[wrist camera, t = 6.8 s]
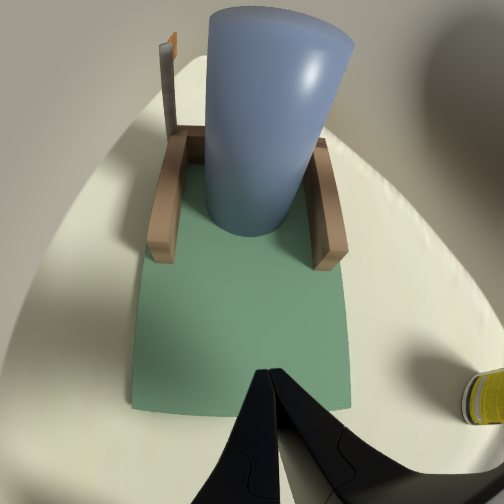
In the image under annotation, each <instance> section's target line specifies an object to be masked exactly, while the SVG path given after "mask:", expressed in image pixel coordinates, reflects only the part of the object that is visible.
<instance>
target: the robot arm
mask: <svg viewBox="0 0 504 504" xmlns="http://www.w3.org/2000/svg"><path fill="white" fill-rule="evenodd" d="M278 449H279V452H280V455H281V459H282V462H283V465H284V469H285V472H286V475H287V479H288V482H289V485H290V488H291V492H292V495H293V498H294V501H295V504H504V462H503V463H502V464H501V465H499V466H498V467H496V468H495V469H492V470H490V471H486V472H482V473H472V474H424V473H419V472H415V471H413V470H410V469H408V468H406V467H404V466H403V465H401V464H399V463H397V462H396V461H394V460H392V459H391V458H389V457H387V456H386V455H384V454H382V453H381V452H379V451H378V450H376V449H375V448H373V447H372V446H370V445H369V444H367V443H366V442H364V441H363V440H362V439H360V438H359V437H358V436H357V435H355V434H354V433H353V432H352V431H350V430H349V429H348V428H347V427H344V425H343V424H342V423H341V422H340V421H339V420H338V419H337V418H335V417H334V416H333V415H332V414H331V413H330V412H329V411H327V410H326V409H325V408H324V407H323V406H322V405H321V404H320V403H319V402H317V401H316V400H315V399H314V398H313V397H312V396H311V395H310V394H309V393H308V392H307V391H305V390H304V389H303V388H302V387H301V386H300V385H299V384H298V383H297V382H296V381H295V380H294V379H293V378H292V377H291V376H290V375H288V374H287V373H286V372H285V371H284V370H283V369H282V368H270V369H269V370H268V369H257V370H256V371H255V373H254V375H253V378H252V381H251V383H250V386H249V388H248V391H247V394H246V396H245V399H244V401H243V404H242V406H241V409H240V411H239V414H238V417H237V419H236V422H235V424H234V426H233V429H232V431H231V434H230V436H229V439H228V442H227V443H226V446H225V448H224V450H223V452H222V455H221V457H220V459H219V461H218V463H217V465H216V466H215V468H214V470H213V471H212V473H211V475H210V476H209V478H208V479H207V481H206V482H205V484H204V485H203V487H202V488H201V489H200V491H199V492H198V494H197V495H196V497H195V498H194V500H193V501H192V502H191V504H280V484H279V456H278Z"/></svg>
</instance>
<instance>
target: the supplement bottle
mask: <svg viewBox="0 0 504 504" xmlns="http://www.w3.org/2000/svg"><path fill="white" fill-rule="evenodd" d="M462 412H463V416H464V419H465V420H466V422H467V423H468V424H470V425H493V424H504V368H501V369H497V370H493V371H488V372H484V373H479V374H477V375H475V376H474V377H473V378H472V379H471V380H470V381H469V383H468V384H467V386H466V388H465V391H464V394H463V399H462Z"/></svg>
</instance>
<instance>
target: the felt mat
mask: <svg viewBox="0 0 504 504" xmlns="http://www.w3.org/2000/svg"><path fill="white" fill-rule="evenodd" d="M270 368H282V369H283V370H284V371H285V372H286V373H287V374H288V375H290V376H291V377H292V378H293V379H294V380H295V381H296V382H297V383H298V384H299V385H300V386H301V387H302V388H303V389H304V390H305V391H307V392H308V393H309V394H310V395H311V396H312V397H313V398H314V399H315V400H316V401H317V402H319V403H320V404H321V405H322V406H323V407H324V408H325V409H326V410H327V411H334V410H341V409H348V408H351V384H350V362H349V346H348V333H347V321H346V310H345V300H344V291H343V283H342V275H341V267H340V261H339V263H338V264H337V265H336V266H335V267H334V268H333V269H332V270H331V271H314V268H313V258H312V248H311V239H310V230H309V221H308V213H307V205H306V198H305V190H304V183H303V178H302V180H301V183H300V185H299V188H298V190H297V192H296V195H295V197H294V200H293V202H292V204H291V207H290V209H289V212H288V214H287V216H286V218H285V220H284V222H283V223H282V224H281V225H280V226H279V227H278V228H277V229H276V230H274V231H273V232H271V233H269V234H266V235H263V236H259V237H242V236H237V235H234V234H231V233H229V232H227V231H225V230H223V229H222V228H220V227H219V226H218V225H217V224H215V222H214V221H213V220H212V219H211V217H210V216H209V214H208V212H207V208H206V203H205V165H196V164H189V165H188V170H187V176H186V182H185V188H184V194H183V200H182V207H181V213H180V220H179V227H178V235H177V243H176V251H175V259H174V264H162V263H155V261H154V258H153V256H152V254H151V251H150V249H149V247H148V244H147V245H146V251H145V257H144V264H143V270H142V277H141V285H140V292H139V301H138V309H137V319H136V330H135V341H134V356H133V374H132V409H137V410H144V411H152V412H161V413H170V414H181V415H195V416H217V417H238V414H239V411H240V409H241V406H242V404H243V401H244V399H245V396H246V394H247V391H248V388H249V386H250V383H251V381H252V378H253V375H254V373H255V371H256V370H257V369H268V370H269V369H270Z"/></svg>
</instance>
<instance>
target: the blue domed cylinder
mask: <svg viewBox="0 0 504 504" xmlns="http://www.w3.org/2000/svg"><path fill="white" fill-rule="evenodd" d="M353 49H354V42H353V41H352V39H351V38H350V37H349V36H348V35H347V34H346V33H344V32H343V31H342V30H340V29H338V28H337V27H335V26H333V25H331V24H329V23H327V22H325V21H323V20H320V19H318V18H315V17H312V16H309V15H306V14H303V13H299V12H295V11H291V10H286V9H281V8H274V7H264V6H240V7H232V8H226V9H222V10H219V11H217V12H215V13H213V14H212V15H211V16H210V19H209V35H208V53H207V75H206V108H205V203H206V208H207V212H208V214H209V216H210V217H211V219H212V220H213V221H214V222H215V224H217V225H218V226H219V227H220V228H222V229H223V230H225V231H227V232H229V233H231V234H234V235H237V236H242V237H259V236H263V235H266V234H269V233H271V232H273V231H274V230H276V229H277V228H278V227H279V226H280V225H281V224H282V223H283V222H284V220H285V218H286V216H287V214H288V212H289V209H290V207H291V204H292V202H293V200H294V197H295V195H296V192H297V190H298V188H299V185H300V183H301V180H302V178H303V175H304V173H305V171H306V168H307V166H308V163H309V161H310V158H311V156H312V153H313V151H314V148H315V146H316V143H317V141H318V138H319V136H320V133H321V131H322V128H323V126H324V123H325V121H326V118H327V116H328V113H329V110H330V108H331V106H332V103H333V101H334V98H335V95H336V93H337V90H338V88H339V85H340V83H341V80H342V78H343V75H344V72H345V70H346V67H347V65H348V62H349V59H350V57H351V54H352V51H353Z"/></svg>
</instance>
